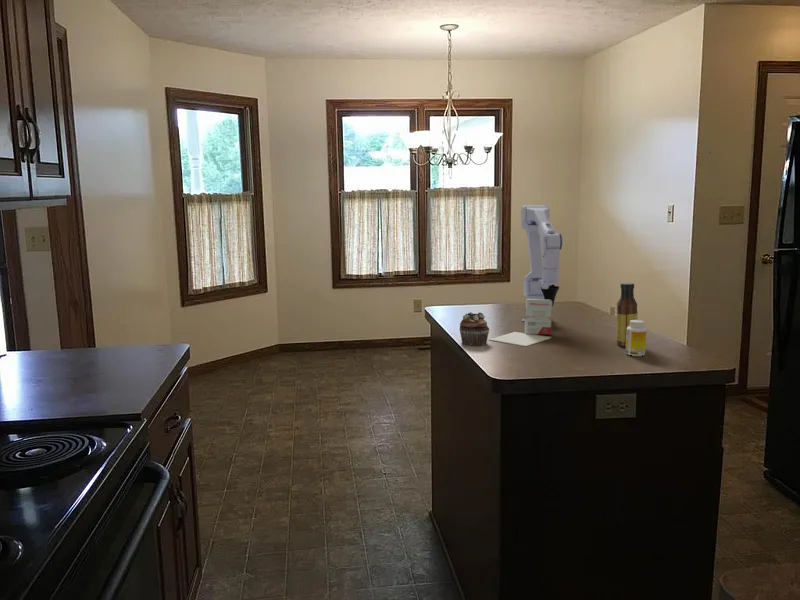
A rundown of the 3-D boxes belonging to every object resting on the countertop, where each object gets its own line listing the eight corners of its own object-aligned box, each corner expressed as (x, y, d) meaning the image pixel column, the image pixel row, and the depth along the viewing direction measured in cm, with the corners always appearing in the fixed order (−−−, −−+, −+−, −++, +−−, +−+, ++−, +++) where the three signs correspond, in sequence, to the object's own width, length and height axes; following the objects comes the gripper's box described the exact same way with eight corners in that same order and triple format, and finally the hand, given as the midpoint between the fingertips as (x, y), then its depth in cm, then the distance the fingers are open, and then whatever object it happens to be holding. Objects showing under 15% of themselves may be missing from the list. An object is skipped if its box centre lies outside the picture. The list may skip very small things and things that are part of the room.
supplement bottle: (649, 355, 192) (651, 321, 190) (635, 357, 189) (637, 323, 188) (634, 351, 197) (636, 318, 195) (621, 353, 194) (622, 320, 193)
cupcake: (455, 345, 206) (456, 314, 204) (463, 339, 215) (463, 309, 213) (485, 347, 203) (486, 316, 201) (492, 341, 212) (492, 311, 210)
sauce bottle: (637, 344, 206) (641, 282, 203) (636, 348, 201) (639, 284, 198) (616, 342, 209) (619, 281, 206) (613, 346, 204) (617, 283, 200)
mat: (515, 332, 225) (515, 331, 225) (551, 338, 216) (551, 337, 216) (488, 340, 213) (488, 339, 213) (525, 346, 204) (525, 345, 204)
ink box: (549, 332, 225) (551, 298, 223) (551, 335, 220) (553, 300, 218) (524, 331, 225) (525, 297, 224) (525, 333, 221) (527, 299, 219)
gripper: (544, 265, 233) (543, 303, 235) (533, 269, 220) (532, 309, 222) (564, 266, 230) (563, 304, 232) (554, 270, 217) (552, 310, 219)
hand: (549, 306), depth 227 cm, fingers closed
